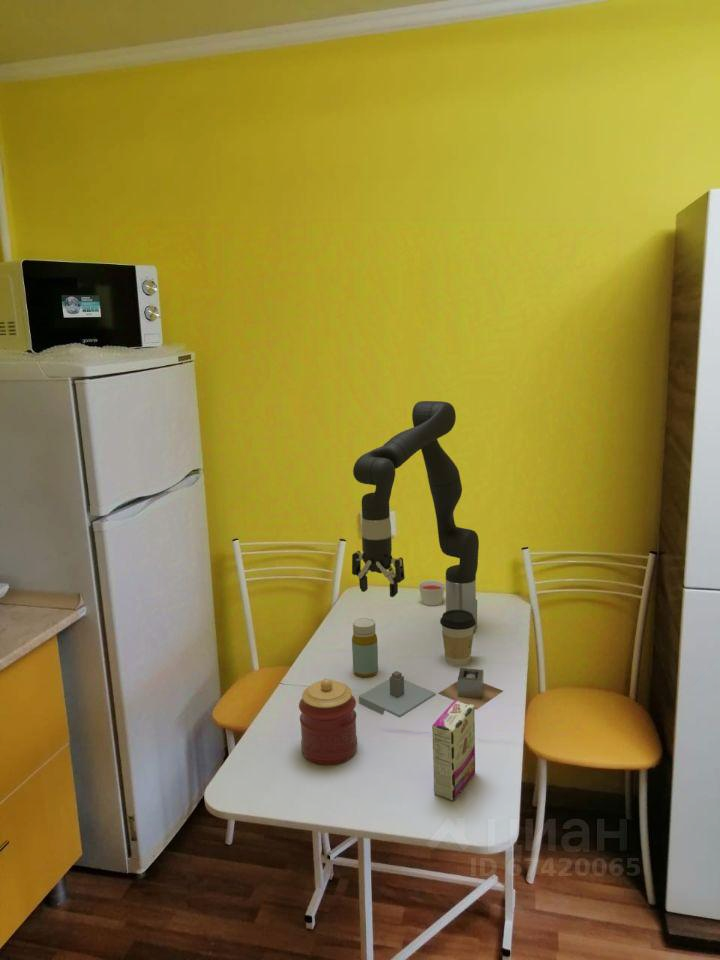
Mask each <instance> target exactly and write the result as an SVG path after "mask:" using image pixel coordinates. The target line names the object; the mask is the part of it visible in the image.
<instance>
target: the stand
mask: <svg viewBox="0 0 720 960" xmlns="http://www.w3.org/2000/svg"><path fill="white" fill-rule="evenodd" d="M466 677H467V678H475V675H474V674H467V675H466ZM503 692H504V690H502V689H500V688H497V687H494V686H492V685H490V684H487V683H485V682H483V693H482V699H475V698H464V697H458V680H457V681H455V682H454V683H452V684H451V685H449V686H447V687H445V688H444V689H443V690H440V691H439V692H438V693H437V694H438V695H441V696H443V697H445V698H448V699H450V700H452V701H454V700H457V701H460V702H464V703H468V704H472V705H474V710H475V711H477V710H479V709H480V708H481V707H482V706H484V705H485V704H487V703H489V702H490V701H491V700H493V699H494V698H496V697H497V696H498V695H501V693H503Z"/></svg>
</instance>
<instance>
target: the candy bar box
mask: <svg viewBox="0 0 720 960" xmlns="http://www.w3.org/2000/svg"><path fill="white" fill-rule="evenodd" d="M452 701H453V702H452V703H450V705H449V706H448V707H447V708H446V709H445V710H444V711H443V713H442V714H441V715H440V716H439V717H438V718H437V719H436V720H435V721H434V722H433V724H432V725H431V727H432V729H431V731H432V754H433V755H432V757H433V758H432V759H433V791H434V795H436V796H438V797H441V798H445V799H448V800H449V801H452V800H455V801H456V799H457V798H458V797H457V795H458V794H459V793H460V794H461V792H462V791H463V790H464V788H465V787H466V785H467V784H468V783H469V781H470V780H471V779H472V777H473V776H474V775H475V773H476V742H475V741H476V739H475V738H476V737H475V736H476V734H475V733H476V732H475V731H476V729H475V725H476V724H475V723H476V722H475V709H474V705H472V704H468V703H464V702H460V701H457V700H452ZM462 789H463V790H462ZM461 790H462V791H461ZM460 791H461V792H460ZM460 794H459V795H460ZM459 795H458V796H459ZM456 797H457V798H456ZM455 798H456V799H455Z"/></svg>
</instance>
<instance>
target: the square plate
mask: <svg viewBox="0 0 720 960" xmlns="http://www.w3.org/2000/svg"><path fill="white" fill-rule="evenodd" d="M436 694H437V693H436V692H434V691H432V690H429V689H427V688H425V687H422V686H420V685H417V684H415V683H413V682H410V681H408V680H405V676H403V675H402V672H400V671H398V670H394V671H393V672H391V676H389V678H388V679H387V680H385V681H383V682H381V683H379V684H378V685H376V686H374V687H372V688H370V689H369V690H367V691H365V692H363V693H361V694H359V695H358V704H360V705H363V706H364V707H366V708H368V709H371V710H372V711H374V712H376V713H378V714H380V715H384V714H385V712H388V713H390V714H392V715H394V716H396V717H398V718H401V717H403V716H405V715H406V714H407V713H410V712H411V711H412V710H414V709H416V708H417V707H419V706H421V705H422V704H423V703H426V701H429V700H430V699H432V698H433V697H434V696H436Z"/></svg>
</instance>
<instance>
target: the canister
mask: <svg viewBox="0 0 720 960" xmlns="http://www.w3.org/2000/svg"><path fill="white" fill-rule="evenodd" d="M301 697H302V698H301V699H300V700H299V703H298V709H299V711H300V716H299V722H300V730H301V731H300V733H301V734H300V735H301V739H300V746H301V750H302V754H303V756H304V757H305V758H306V760H308V761H310V762H312V763H314V764H317V765H323V766H331V765H337V764H341V763H344V762H346V761H348V760H350V759H351V758H352V757H353V756H354V755H355V753H356V751H357V746H358V736H357V712H356V710H355V708H356V705H357V701H356V698H355V696H354V695H353V692H352V689H351V687H350V686H348V685H347V684H345V683H343V682H341V681H338V680H334V679H329V678H325V679H322V680H319V681H316V682H314V683H312V684H310V685H309V686H307V687H306V688H305V689H304V690H303V691H302V694H301Z"/></svg>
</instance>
